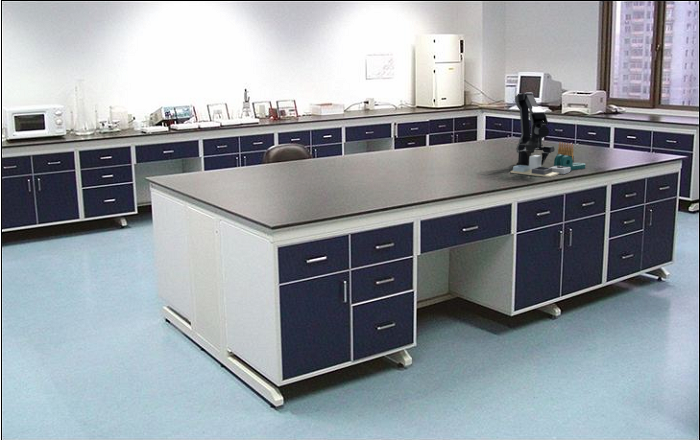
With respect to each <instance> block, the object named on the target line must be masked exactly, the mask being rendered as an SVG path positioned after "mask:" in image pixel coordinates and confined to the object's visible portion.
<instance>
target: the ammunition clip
mask: <svg viewBox="0 0 700 440" xmlns="http://www.w3.org/2000/svg"><path fill="white" fill-rule="evenodd" d="M559 154H561V155H565V156H571V157H572V159H573V163H575V161H574V159H575V158H574V157H575V156H574V143H568V142H563V141H562V142H561V141H559V142H558V149H557V154H556V156H557V155H559Z"/></svg>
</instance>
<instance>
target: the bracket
mask: <svg viewBox="0 0 700 440" xmlns="http://www.w3.org/2000/svg"><path fill="white" fill-rule="evenodd" d="M586 165H587V164H586V163H584V162H574V163H573V159H572V157H571V156H565V155H561V154H559V155H557V154H556V156H555V157H554V160H553V167H554V166H564V167H571V171H574V170H582V169H583V170H584V169H586Z"/></svg>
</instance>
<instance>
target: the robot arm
mask: <svg viewBox="0 0 700 440" xmlns="http://www.w3.org/2000/svg"><path fill="white" fill-rule="evenodd" d="M534 94H535V93H534V92H523V93H517V94H516V95H515V96H514V101H515V104H516V107H517V108H518V110H519V118H520V132H521V135H520V138H519V140H518V143H517V145H516V149H515V151H516V153H517V154H518V160H517V162H516V164H517V165H525V166H529V157H530V156H533V155H532V154H534V153H535V151H543V152H541V166H543V165H544V163H545V161H546V159H547V157H548V156H549V155H550V154H551V153H555V146H553V145H546V146H543V139H544V138H546V137H548V136H549V134H550V129H549V128H548V127H547V126H548V118H547V116H546V113H545V111H544V110H543V109H542V108H540V107H539V105H538V103H537V100H536V98H535V95H534ZM530 125H531V126H530Z"/></svg>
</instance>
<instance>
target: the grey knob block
mask: <svg viewBox="0 0 700 440" xmlns="http://www.w3.org/2000/svg"><path fill="white" fill-rule="evenodd" d="M550 168H552V172H556V173H559V174H560V175H565V174H568V173H571V171H572V170H571V167H564V166H554V165H553V166H551V167H550ZM559 174H558V175H559Z"/></svg>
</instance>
